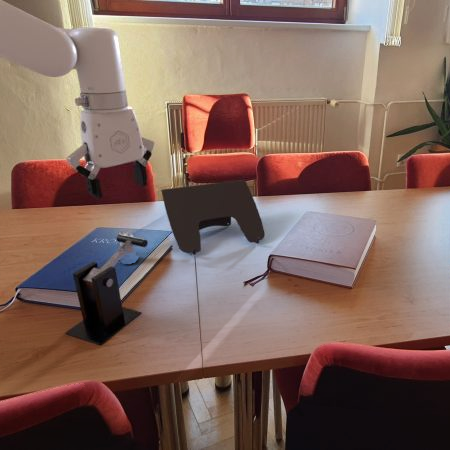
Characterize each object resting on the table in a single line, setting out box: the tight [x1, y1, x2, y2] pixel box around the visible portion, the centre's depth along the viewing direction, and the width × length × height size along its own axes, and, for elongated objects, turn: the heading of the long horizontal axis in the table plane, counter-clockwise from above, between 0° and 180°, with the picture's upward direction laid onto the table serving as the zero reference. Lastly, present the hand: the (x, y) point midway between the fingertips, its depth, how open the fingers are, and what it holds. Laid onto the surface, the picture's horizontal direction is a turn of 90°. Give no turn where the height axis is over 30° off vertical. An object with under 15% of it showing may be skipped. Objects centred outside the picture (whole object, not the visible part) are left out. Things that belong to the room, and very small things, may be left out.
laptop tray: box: [160, 179, 266, 258], centre depth 115 cm, size 23×23×9 cm
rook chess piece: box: [118, 230, 135, 253], centre depth 99 cm, size 4×4×8 cm
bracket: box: [64, 261, 143, 347], centre depth 77 cm, size 10×8×12 cm
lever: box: [83, 233, 149, 290], centre depth 79 cm, size 12×6×2 cm, turn 159°
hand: (119, 190), depth 87 cm, fingers open, 9 cm apart
